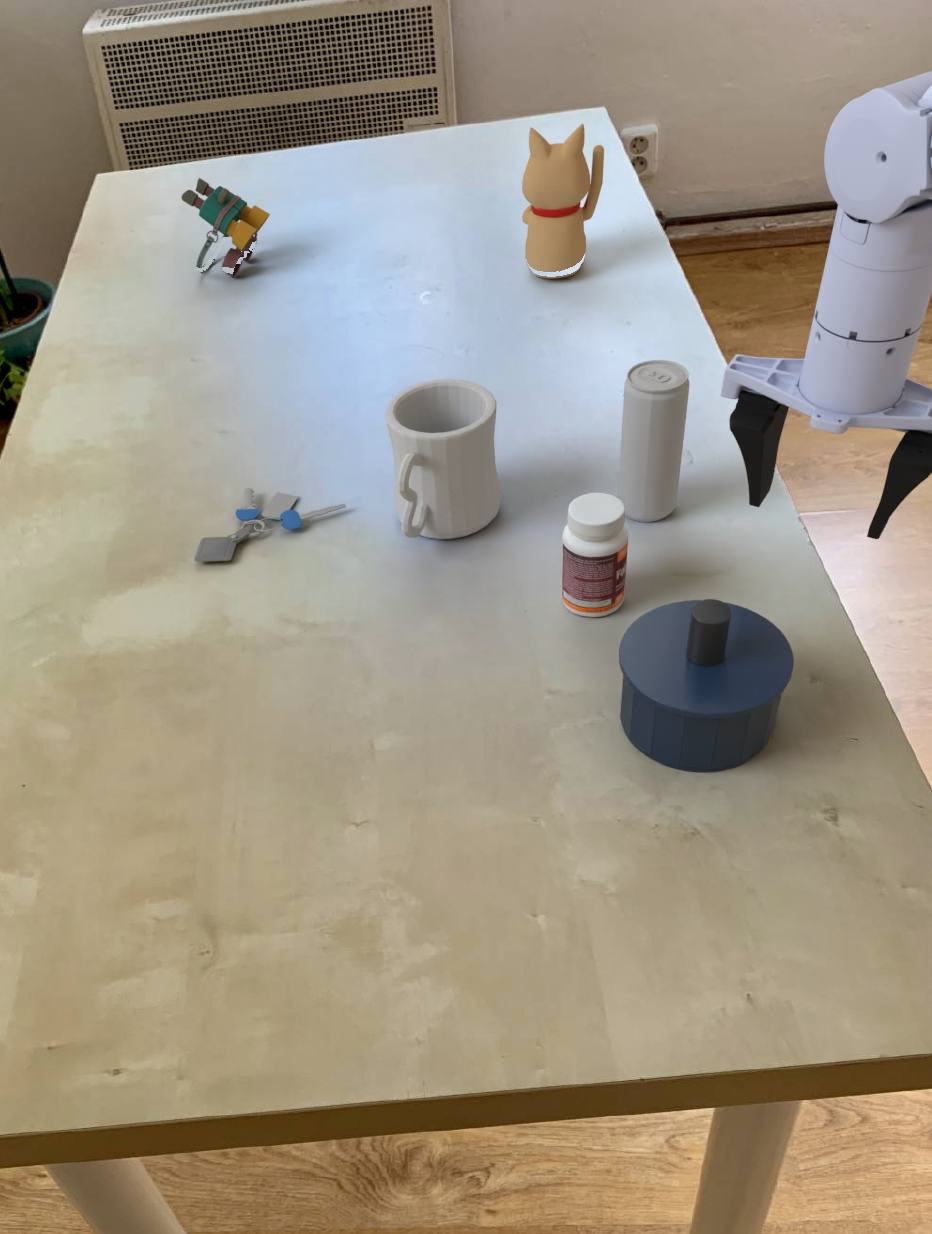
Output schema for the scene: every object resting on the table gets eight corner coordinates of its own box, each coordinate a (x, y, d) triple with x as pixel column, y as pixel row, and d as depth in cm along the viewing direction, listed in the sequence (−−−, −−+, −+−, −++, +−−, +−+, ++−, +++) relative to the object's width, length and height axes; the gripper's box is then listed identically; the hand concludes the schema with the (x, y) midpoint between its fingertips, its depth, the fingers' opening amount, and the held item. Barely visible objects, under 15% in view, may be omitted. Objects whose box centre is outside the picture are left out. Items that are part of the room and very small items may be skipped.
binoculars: (222, 303, 131) (249, 233, 124) (155, 260, 130) (178, 186, 122) (251, 268, 137) (279, 199, 129) (187, 227, 136) (211, 154, 128)
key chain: (205, 575, 92) (202, 567, 91) (166, 529, 97) (164, 521, 96) (348, 511, 95) (346, 503, 95) (304, 470, 100) (302, 462, 100)
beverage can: (641, 484, 93) (652, 352, 84) (688, 505, 91) (704, 371, 82) (604, 510, 91) (611, 378, 83) (650, 532, 89) (662, 398, 80)
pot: (805, 724, 73) (820, 665, 69) (693, 796, 70) (703, 739, 66) (696, 647, 79) (704, 589, 75) (590, 710, 76) (592, 653, 72)
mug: (423, 473, 98) (414, 370, 91) (517, 491, 95) (515, 385, 87) (359, 554, 91) (343, 449, 84) (458, 576, 88) (451, 470, 80)
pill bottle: (628, 616, 82) (635, 525, 76) (564, 621, 83) (566, 530, 77) (619, 577, 85) (625, 485, 79) (558, 581, 86) (559, 491, 80)
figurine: (599, 245, 125) (605, 101, 114) (599, 284, 119) (605, 135, 108) (524, 249, 127) (523, 107, 116) (520, 288, 120) (518, 141, 109)
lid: (828, 673, 69) (843, 616, 66) (702, 752, 66) (711, 697, 63) (704, 591, 76) (711, 535, 72) (584, 659, 73) (586, 605, 69)
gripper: (715, 324, 62) (686, 517, 72) (988, 379, 56) (914, 582, 66) (760, 269, 66) (726, 460, 76) (1021, 315, 60) (946, 516, 70)
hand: (816, 513), depth 71 cm, fingers open, 7 cm apart
